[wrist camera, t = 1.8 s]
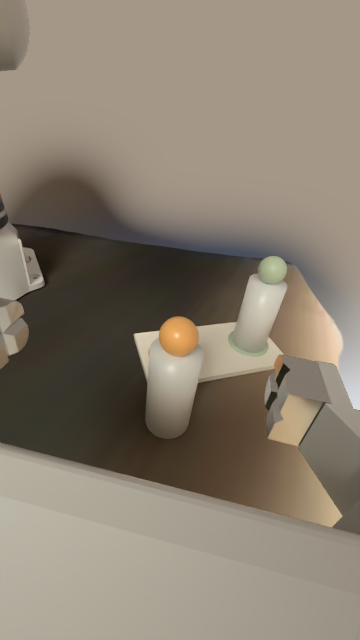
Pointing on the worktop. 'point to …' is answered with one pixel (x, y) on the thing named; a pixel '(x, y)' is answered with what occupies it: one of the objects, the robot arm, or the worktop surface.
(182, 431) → the orange ball tube
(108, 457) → the worktop surface
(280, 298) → the green ball tube
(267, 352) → the card
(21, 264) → the robot arm
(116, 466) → the worktop surface
